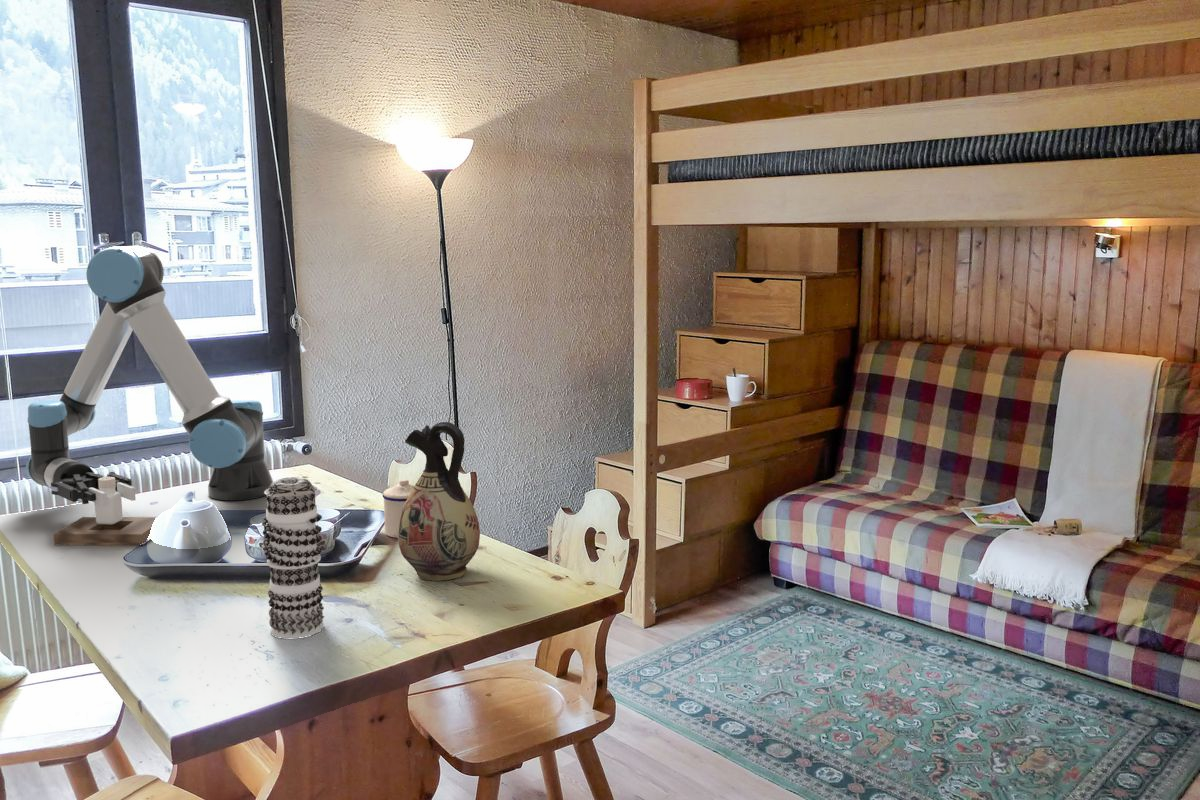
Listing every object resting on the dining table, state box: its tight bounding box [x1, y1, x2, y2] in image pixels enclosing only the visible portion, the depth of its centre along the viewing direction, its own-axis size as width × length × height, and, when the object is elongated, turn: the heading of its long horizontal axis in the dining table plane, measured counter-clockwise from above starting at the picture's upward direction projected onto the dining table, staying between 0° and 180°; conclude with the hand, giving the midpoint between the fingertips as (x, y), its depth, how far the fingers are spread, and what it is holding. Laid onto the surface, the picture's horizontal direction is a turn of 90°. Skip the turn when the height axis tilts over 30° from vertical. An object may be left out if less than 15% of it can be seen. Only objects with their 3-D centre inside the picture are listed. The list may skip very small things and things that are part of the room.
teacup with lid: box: [382, 478, 415, 539], centre depth 213 cm, size 12×9×12 cm
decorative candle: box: [261, 476, 325, 638], centre depth 160 cm, size 9×9×25 cm
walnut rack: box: [52, 516, 156, 547], centre depth 209 cm, size 18×12×2 cm, turn 90°
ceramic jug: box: [397, 421, 481, 582], centre depth 185 cm, size 17×15×30 cm
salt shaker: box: [94, 477, 124, 525], centre depth 208 cm, size 4×4×10 cm
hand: (119, 496), depth 204 cm, fingers closed on salt shaker, 5 cm apart
